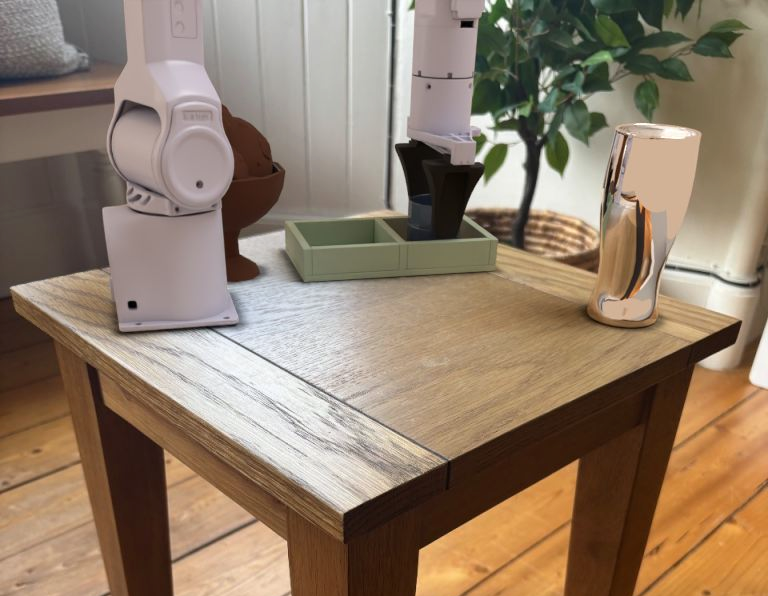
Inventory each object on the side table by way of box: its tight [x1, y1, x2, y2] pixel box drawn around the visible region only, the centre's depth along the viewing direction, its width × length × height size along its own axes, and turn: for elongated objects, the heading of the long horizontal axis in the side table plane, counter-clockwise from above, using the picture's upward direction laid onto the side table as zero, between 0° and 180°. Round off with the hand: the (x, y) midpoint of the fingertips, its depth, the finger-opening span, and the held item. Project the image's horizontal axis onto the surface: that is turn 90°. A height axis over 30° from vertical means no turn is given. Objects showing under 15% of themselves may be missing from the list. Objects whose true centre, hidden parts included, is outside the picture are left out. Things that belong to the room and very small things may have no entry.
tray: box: [284, 214, 499, 283], centre depth 82 cm, size 19×10×3 cm, turn 106°
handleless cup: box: [407, 194, 461, 242], centre depth 82 cm, size 5×5×5 cm
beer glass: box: [586, 122, 703, 329], centre depth 67 cm, size 7×7×15 cm
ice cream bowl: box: [221, 103, 286, 283], centre depth 74 cm, size 11×11×15 cm
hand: (433, 227), depth 82 cm, fingers open, 7 cm apart
